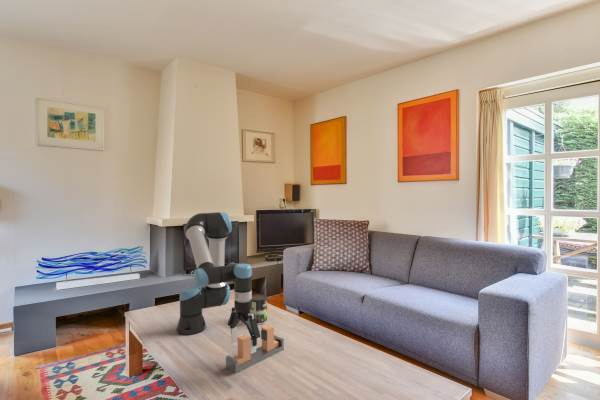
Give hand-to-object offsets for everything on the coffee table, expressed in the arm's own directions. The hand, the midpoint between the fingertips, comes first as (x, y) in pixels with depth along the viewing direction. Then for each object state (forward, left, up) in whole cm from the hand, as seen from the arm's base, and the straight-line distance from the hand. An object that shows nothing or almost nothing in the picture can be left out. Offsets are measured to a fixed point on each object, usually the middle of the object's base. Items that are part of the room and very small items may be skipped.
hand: (243, 347), depth 146 cm
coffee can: (-32, +35, -8) cm, 48 cm away
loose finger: (0, -1, -5) cm, 5 cm away
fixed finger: (0, +15, -5) cm, 16 cm away
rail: (0, +7, -7) cm, 10 cm away
